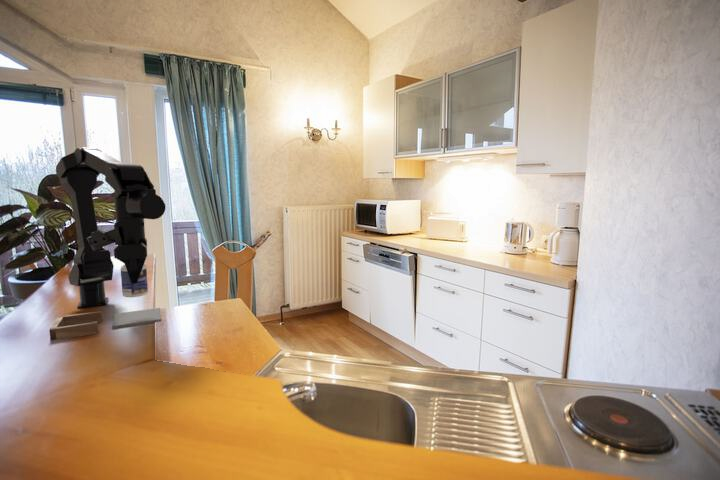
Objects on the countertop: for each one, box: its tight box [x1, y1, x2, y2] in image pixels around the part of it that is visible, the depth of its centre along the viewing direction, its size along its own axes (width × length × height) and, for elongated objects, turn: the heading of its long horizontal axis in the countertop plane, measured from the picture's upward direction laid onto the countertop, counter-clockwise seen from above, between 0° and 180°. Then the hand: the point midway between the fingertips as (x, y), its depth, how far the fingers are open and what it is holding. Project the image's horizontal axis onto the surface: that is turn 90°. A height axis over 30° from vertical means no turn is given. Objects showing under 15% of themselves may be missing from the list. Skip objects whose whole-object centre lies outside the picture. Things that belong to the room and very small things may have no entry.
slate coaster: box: [111, 307, 162, 330], centre depth 91 cm, size 10×10×1 cm
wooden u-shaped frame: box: [48, 310, 103, 342], centre depth 83 cm, size 9×8×2 cm
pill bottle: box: [120, 263, 149, 298], centre depth 89 cm, size 5×5×10 cm
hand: (134, 280), depth 89 cm, fingers closed on pill bottle, 5 cm apart
